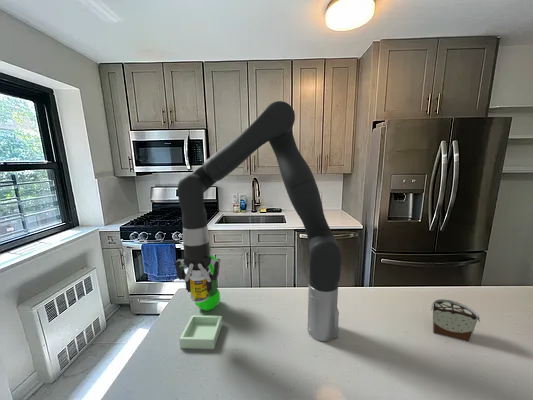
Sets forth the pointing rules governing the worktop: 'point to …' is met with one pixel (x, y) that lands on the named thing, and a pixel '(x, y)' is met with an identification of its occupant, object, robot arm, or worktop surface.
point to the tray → (201, 332)
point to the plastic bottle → (210, 293)
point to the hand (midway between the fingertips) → (199, 290)
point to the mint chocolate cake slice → (453, 320)
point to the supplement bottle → (198, 286)
